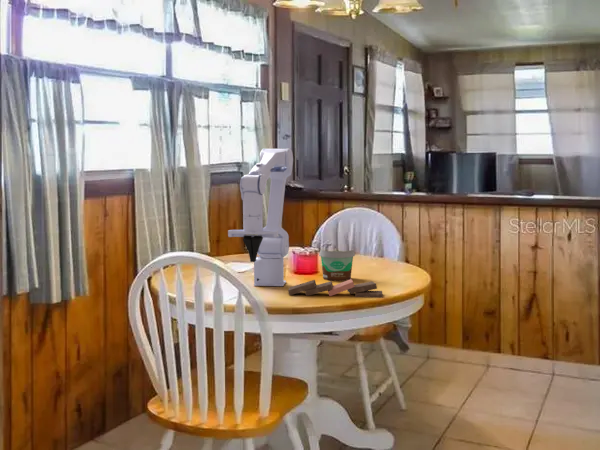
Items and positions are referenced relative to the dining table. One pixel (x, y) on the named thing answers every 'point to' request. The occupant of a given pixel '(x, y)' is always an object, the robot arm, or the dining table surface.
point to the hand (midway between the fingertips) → (253, 261)
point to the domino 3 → (341, 287)
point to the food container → (337, 265)
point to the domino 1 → (302, 287)
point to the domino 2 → (320, 288)
